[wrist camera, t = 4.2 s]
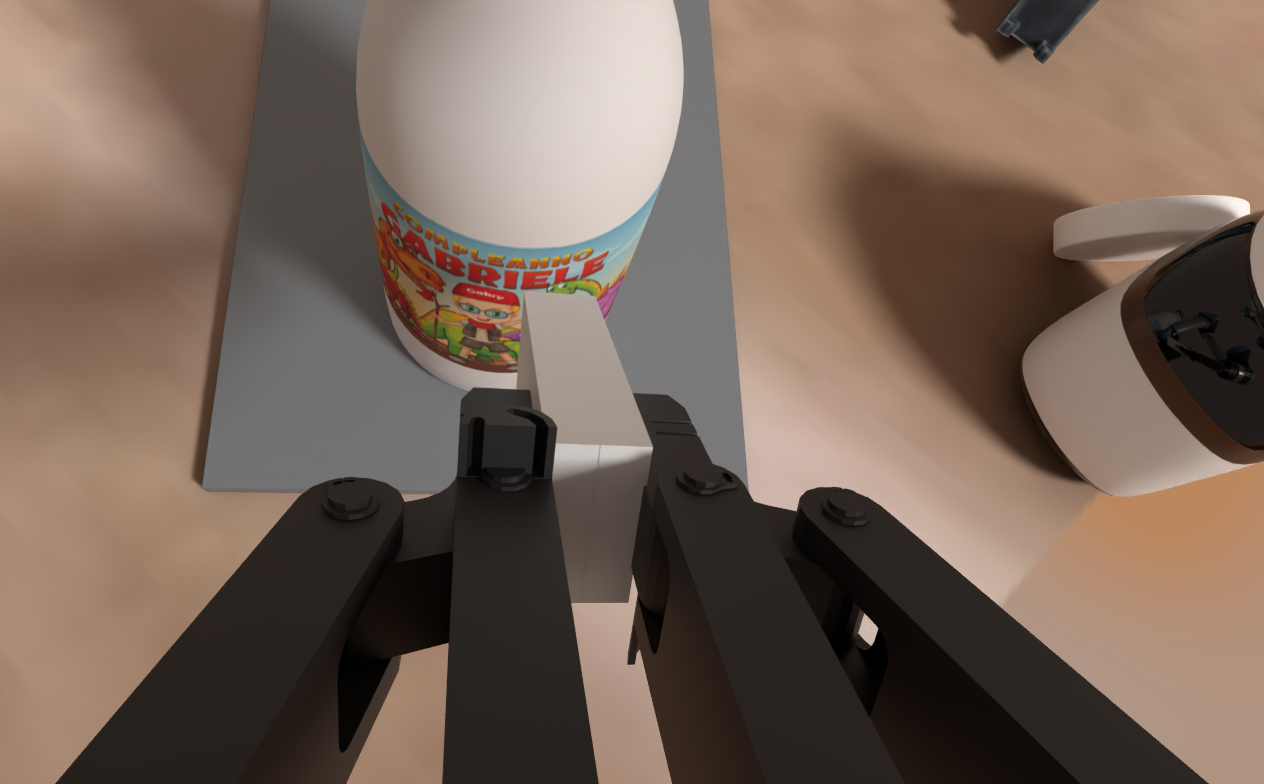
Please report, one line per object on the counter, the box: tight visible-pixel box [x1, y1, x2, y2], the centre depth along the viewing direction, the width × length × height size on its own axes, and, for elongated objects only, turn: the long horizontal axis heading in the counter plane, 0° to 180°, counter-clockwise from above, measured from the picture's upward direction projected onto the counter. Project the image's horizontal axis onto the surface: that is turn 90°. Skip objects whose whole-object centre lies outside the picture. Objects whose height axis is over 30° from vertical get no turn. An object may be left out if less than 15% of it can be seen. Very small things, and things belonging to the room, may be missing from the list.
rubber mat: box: [202, 0, 749, 494], centre depth 33 cm, size 34×18×1 cm, turn 1°
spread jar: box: [1020, 195, 1264, 497], centre depth 30 cm, size 12×11×12 cm
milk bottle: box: [356, 0, 684, 391], centre depth 21 cm, size 8×8×20 cm
